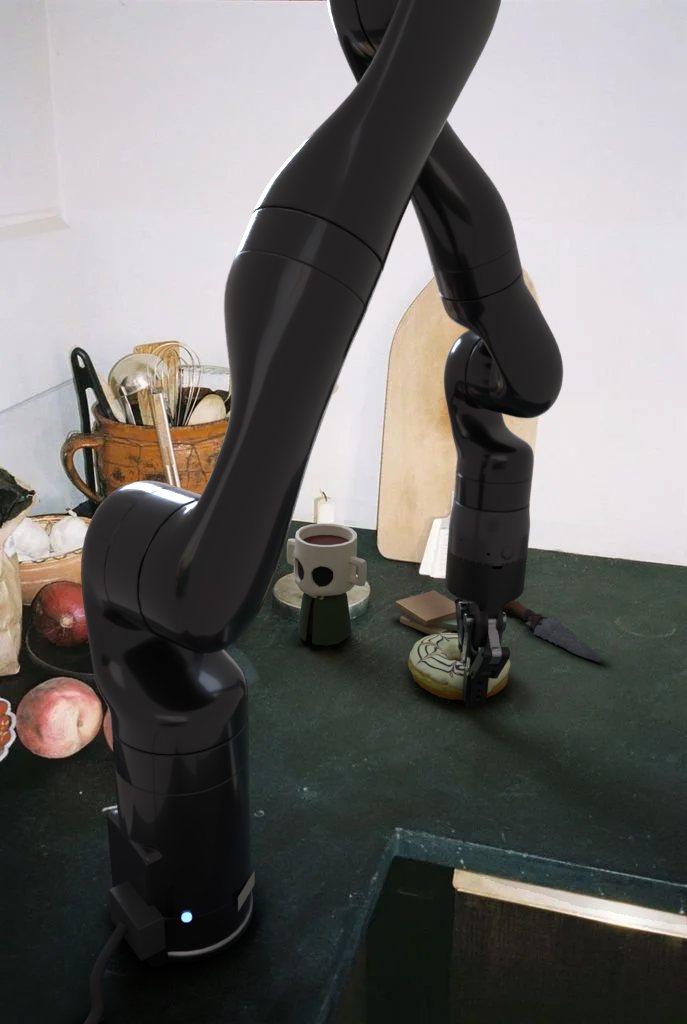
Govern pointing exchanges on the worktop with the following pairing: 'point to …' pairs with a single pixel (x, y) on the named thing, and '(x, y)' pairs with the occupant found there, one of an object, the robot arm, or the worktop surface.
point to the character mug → (325, 579)
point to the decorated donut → (445, 667)
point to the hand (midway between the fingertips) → (473, 702)
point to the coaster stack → (429, 613)
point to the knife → (552, 630)
